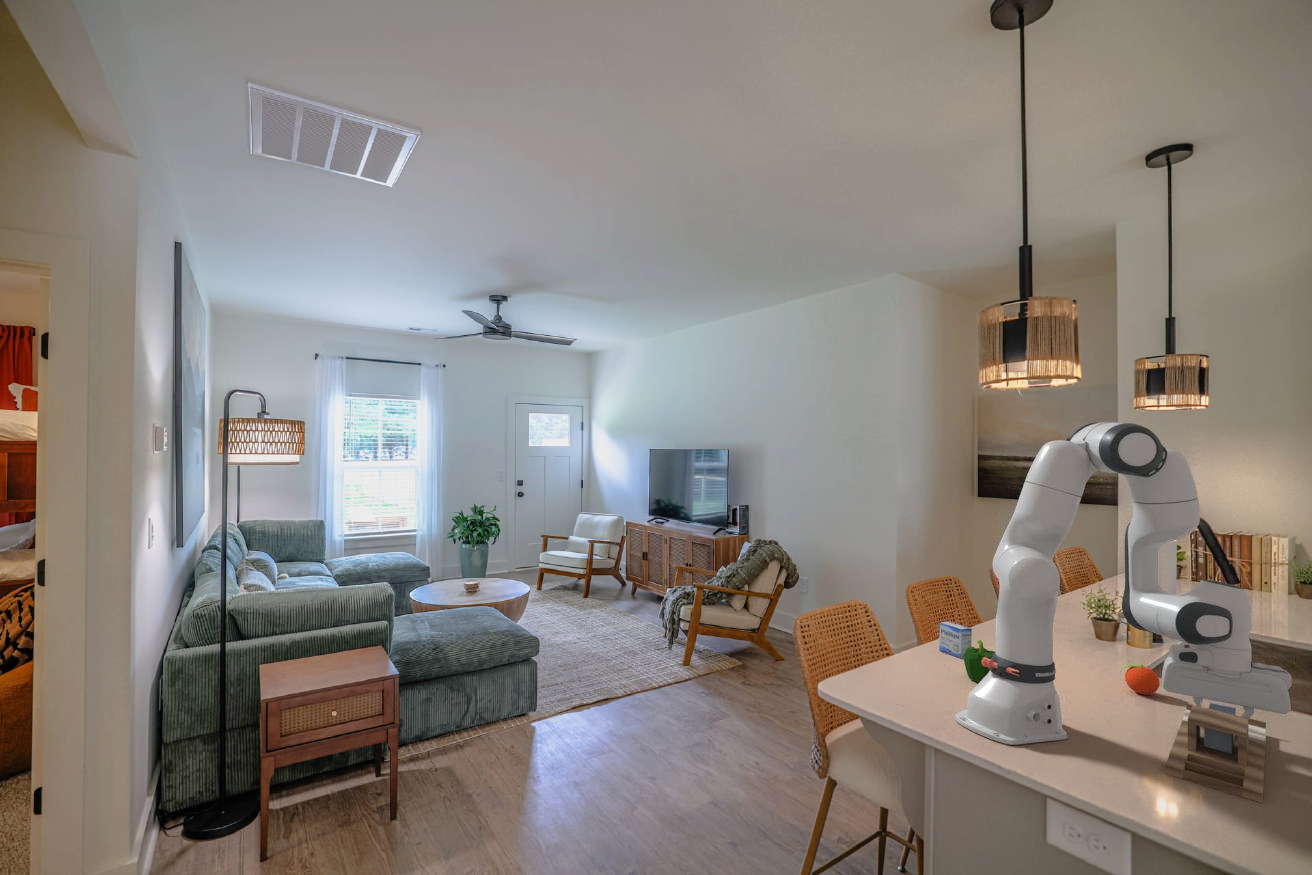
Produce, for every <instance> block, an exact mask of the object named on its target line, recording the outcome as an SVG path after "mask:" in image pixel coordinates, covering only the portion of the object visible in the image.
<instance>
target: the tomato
mask: <svg viewBox="0 0 1312 875" xmlns="http://www.w3.org/2000/svg"><path fill="white" fill-rule="evenodd" d="M1125 668H1126V671H1125V674H1124V679H1125V680H1124V681H1125V682H1126V684H1127V686H1128V688H1129V689H1130V690H1132V691H1133V692H1134V693H1137V694H1141V695H1146V696H1147V695H1151V694H1154V693H1156V692H1157V691H1158V690H1159V688H1160V685H1161V684H1160V682H1161V681H1160V678H1159V676H1158V674H1157V673H1156V672H1155V671H1154V670H1152V669H1151V668H1150V667H1148V666H1145V665H1140V664H1139V665H1137V664H1129V665H1126V666H1124V667H1123V668H1122V669H1120V671H1119V673H1121V672H1122V671H1123V670H1124V669H1125ZM1127 668H1128V669H1127Z"/></svg>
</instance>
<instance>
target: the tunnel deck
mask: <svg viewBox="0 0 1312 875" xmlns="http://www.w3.org/2000/svg"><path fill="white" fill-rule="evenodd" d="M1204 727H1206V728H1210V729H1214V730H1218V731H1222V732H1226V733H1230V734H1234V735H1235V737H1234V743H1233V749H1232V754H1231V753H1227V752H1224V751H1220V750H1216V749H1212V748H1209V747H1205V746H1204ZM1266 731H1267V722H1266V721H1263V720H1258V719H1253V718H1251V717H1250V718H1249V719H1248V718H1246V717H1242V716H1241V715H1237V714H1236V715H1233V714H1229V713H1224V712H1220V711H1216V710H1212V709H1209V708H1206V707H1203V706H1202V707H1199V706H1197V705H1196V704H1195V705H1194V704H1189V703H1186V709H1185V712H1184V715H1183V718H1182V719H1181V723H1180V726H1179V728H1178V731H1177V733H1176V737H1175V738H1174V742H1173V744H1172V746H1171V747H1172V748H1171V749H1170V751H1169V755H1168V757H1167V759H1166V763H1165V774H1166V775H1169V776H1172V777H1176V778H1177V779H1182V780H1185V781H1188V782H1191V783H1195V784H1198V785H1202V786H1205V787H1208V788H1213V789H1216V790H1218V791H1222V792H1225V793H1229V794H1232V795H1235V796H1238V797H1240V798H1244V799H1248V800H1252V801H1255V802H1259V803H1262V804H1263V803H1264V785H1265V766H1266V765H1265V763H1266V744H1267V743H1266V741H1267V739H1266V738H1267V732H1266Z"/></svg>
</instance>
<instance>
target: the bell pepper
mask: <svg viewBox="0 0 1312 875" xmlns="http://www.w3.org/2000/svg"><path fill="white" fill-rule="evenodd" d="M977 644H978V646H979V647H974V646H972V645H971V646H970V647H969V648H967V650H966V651H965V653H964V658H963V662H964V667H965V670H966V675H967V676H968V678H969V679H970V680H972V681H973V682H975V683H979V682H980V681H981V680H982V679H983V678H984V677H985V676H986V675H987V674H988V673H989V671H990V669H989V667H985V666H983V665H982V663H981V662H982V660H983V658H984V657H986V658H988V659H992V656H993V653H994V652H995V651H994V650H988V649H987V648H985V647H984V643H983V641H982V640H980V639H978V640H977Z"/></svg>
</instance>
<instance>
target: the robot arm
mask: <svg viewBox="0 0 1312 875" xmlns="http://www.w3.org/2000/svg"><path fill="white" fill-rule="evenodd" d="M1098 471H1100V472H1103V473H1107V474H1108V473H1109V474H1121V475H1123V476H1124V478H1125V479H1126V481H1127V483H1128V485H1129V488H1130V495H1131V496H1130V497H1131V504H1132V517H1131V521H1130V522H1129V523H1127V525H1126V528H1125V533H1124V590H1123V595H1122V600H1121V611H1122V614H1123V616H1124V619H1125V620H1126V621H1127V622H1128V624H1129V625H1130V626H1131V627H1133V629H1136V630H1140V631H1144V632H1147V633H1152V634H1156V635H1159V636H1163V637H1165V638H1169V639H1172V640H1174V641H1175V640H1176V641H1179V642H1182V643H1176V644H1171V645H1170V646H1169V649H1168V652H1169V653H1168V654H1169V656H1168V657H1166V659H1165V660H1164V661H1163V665H1162V673H1161V686H1162V688H1163V689H1164V690H1165V691H1166V692H1168V693H1174V694H1179V695H1182V696H1183V695H1184V696H1188V697H1192V700H1193V702H1194V704H1195V706H1199V707H1203V706H1202V704H1203V699H1204V700H1209V701H1212V702H1213V701H1214V702H1221V703H1223V704H1229V705H1235V706H1240V707H1242V709H1243V711H1244V712H1243V713H1242V714H1241V715H1240V716H1242V717H1246V718H1248V719H1249V718H1250V719H1251V717H1252V716H1254V714H1255V713H1254V712H1255V710H1260V711H1265V712H1272V713H1276V714H1281V715H1287V714H1288V713H1290V712H1291V711H1292V710H1291V709H1292V708H1291V700H1290V694H1289V689H1290V688H1291V687H1292V684H1293V683H1292V681H1293V680H1292V676H1291V674H1290V672H1288V671H1287V670H1286V669H1284V668H1282V667H1281V666H1278V665H1269V664H1266V663H1261V662H1255V661H1252V644H1251V641H1250V636H1249V635H1250V632H1251V631H1252V608H1251V601H1250V598H1249V595H1248V592H1247V591H1246V589H1244V588H1243V587H1241V586H1238V585H1235V584H1231V583H1230V584H1229V583H1226V582H1220V581H1216V580H1211V579H1203V580H1202V579H1201V580H1200V581H1199V583H1198V586H1197V587H1195V588H1194V589H1192V590H1190V591H1189V592H1185V593H1181V594H1176V593H1173V592H1169V591H1165V590H1164V589H1163V588H1162V587H1161V586H1160V584H1159V569H1158V568H1159V567H1158V566H1159V564H1158V563H1159V562H1158V559H1159V558H1158V556H1159V555H1158V553H1159V550H1160V549H1161V547H1162V546H1163V545H1164V544H1167V543H1170V542H1174V541H1177V540H1181V539H1184V538H1185V537H1187V536H1189V535H1190V534H1192V533H1193V532H1194V531H1195V530H1196V529H1197V528H1198V526H1199V525H1200V521H1201V507H1200V506H1201V505H1200V501H1199V497H1198V491H1197V487H1196V483H1195V479H1194V477H1193V473H1192V471H1191V468H1190V466H1189V463H1188V461H1187V458H1186V457H1185V456H1184V455H1183V453H1181V452H1180V451H1178V450H1176V449H1173V448H1168V447H1165V446H1164V445H1163V444H1162V442H1161V441H1160V438H1158V436H1157V435H1156V434H1155V433H1154V432H1153V431H1152V430H1150V429H1149V428H1147V427H1145V426H1143V425H1141V424H1137V423H1132V422H1131V423H1129V422H1128V423H1125V422H1118V421H1101V422H1090V423H1087V424H1085V425H1082V426H1081V427H1079V428H1078V429H1076V431H1074V432H1073V433H1072V434H1071V435H1070V436H1069V437H1068V438H1066V439H1065V440H1064V439H1057V440H1051V441H1049V442H1046V443H1045V444H1043V445H1042V447H1041V448H1040V449H1039V451H1038V453H1037V454H1036V456H1035V458H1034V459H1033V462H1032V463H1031V466H1030V468H1029V470H1028V473H1027V475H1026V477H1025V480H1024V483H1023V487H1022V489H1021V491H1020V493H1019V494H1020V495H1019V498H1018V501H1017V503H1016V506H1015V508H1014V512H1013V514H1012V515H1011V519H1010V520H1009V523H1008V524H1007V527H1006V528H1005V531H1004V533H1003V535H1002V537H1001V540H1000V542H999V544H998V546H997V548H996V551H995V554H994V555H993V559H992V570H993V573H994V575H995V577H996V578H997V580H998V584H999V589H998V590H999V591H998V602H997V609H996V610H997V611H996V616H995V632H994V633H995V635H994V636H995V637H994V638H995V639H994V640H995V647H994V650H995V652H994V653H993V656H992V659H988V658H986V657H984V658H983V660H982V662H981V663H982V665H983V666H985V667H989V669H990V671H989V673H988V674H987V675H986V676H985V677H984V678H983V679H982V680H981V681H980V682H978V684H976V686H975V687H974V688H972V690H971V691H970V692H969V694H968V696H967V700H966V701H967V703H966V709H963V710H961V711H959V712H957V713H955V714H954V720H955V721H956V722H957V723H958V724H959V725H960V726H962V727H965V728H966V729H968V730H970V731H972V732H974V733H975V734H978V735H980V736H982V737H984V738H987V739H990V740H992V741H996V742H998V743H1002V744H1004V745H1009V746H1010V745H1011V746H1012V745H1014V746H1015V745H1025V744H1033V743H1035V744H1036V743H1043V742H1052V741H1062V740H1068V733H1067V732H1066V730H1064V728H1063V721H1062V712H1061V700H1060V695H1059V694H1058V692H1057V689H1056V688H1055V684H1054V681H1055V679H1056V672H1057V671H1056V663H1055V662H1054V661H1053V660H1054V659H1053V657H1054V656H1053V652H1054V649H1053V648H1054V644H1053V643H1054V634H1053V633H1054V621H1055V615H1056V612H1057V610H1056V609H1057V605H1058V604H1057V603H1058V596H1059V590H1060V586H1061V578H1060V572H1059V570H1058V567H1057V566H1056V563H1054V560H1053V559H1054V557H1055V555H1056V553H1057V551H1058V550H1059V548H1060V547H1061V546H1060V545H1061V544H1062V543H1063V541H1064V540H1065V539H1066V538H1065V537H1066V536H1067V535H1068V534H1069V533H1070V530H1071V528H1072V526H1073V523H1074V520H1075V518H1076V514H1077V512H1078V509H1079V505H1080V503H1081V500H1082V497H1083V494H1084V490H1085V487H1086V484H1087V483H1088V481H1089V479H1090V478H1091V477H1092V475H1094V474H1095V473H1097V472H1098Z"/></svg>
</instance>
